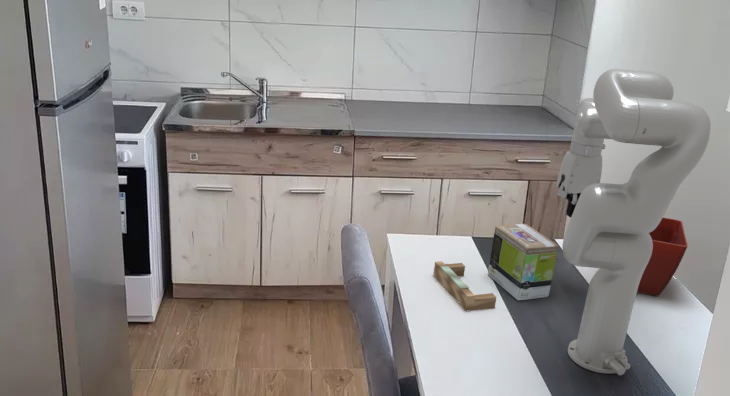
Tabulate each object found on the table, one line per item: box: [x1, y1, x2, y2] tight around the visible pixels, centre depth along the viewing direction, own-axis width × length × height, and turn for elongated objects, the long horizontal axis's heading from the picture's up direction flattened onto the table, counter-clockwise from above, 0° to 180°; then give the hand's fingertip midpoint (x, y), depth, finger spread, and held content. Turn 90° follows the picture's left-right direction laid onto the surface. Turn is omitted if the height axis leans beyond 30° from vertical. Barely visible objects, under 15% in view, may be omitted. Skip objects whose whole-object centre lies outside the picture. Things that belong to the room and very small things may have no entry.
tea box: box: [487, 223, 559, 301], centre depth 182 cm, size 15×10×15 cm
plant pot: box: [637, 217, 688, 297], centre depth 189 cm, size 19×19×17 cm
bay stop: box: [433, 260, 497, 312], centre depth 178 cm, size 19×8×4 cm, turn 19°
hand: (572, 216), depth 180 cm, fingers closed
